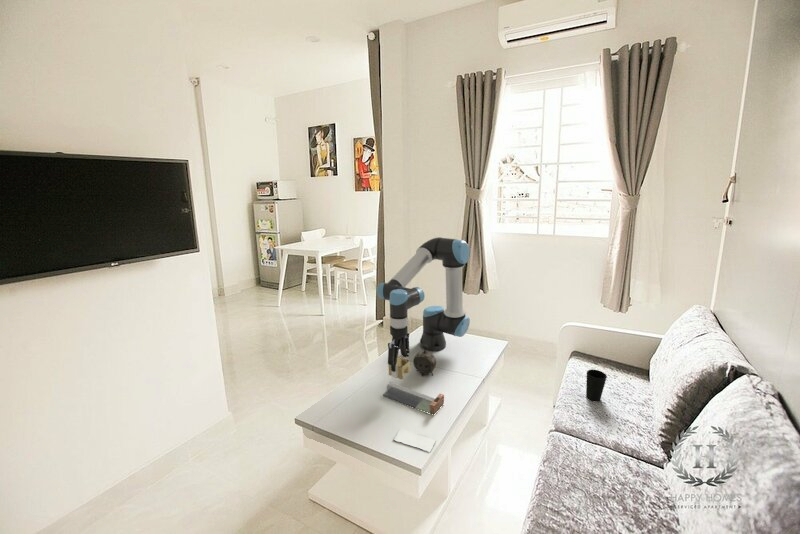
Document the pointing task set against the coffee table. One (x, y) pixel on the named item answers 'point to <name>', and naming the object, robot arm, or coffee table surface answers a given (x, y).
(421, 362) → the alarm clock
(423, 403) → the rail
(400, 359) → the clip
